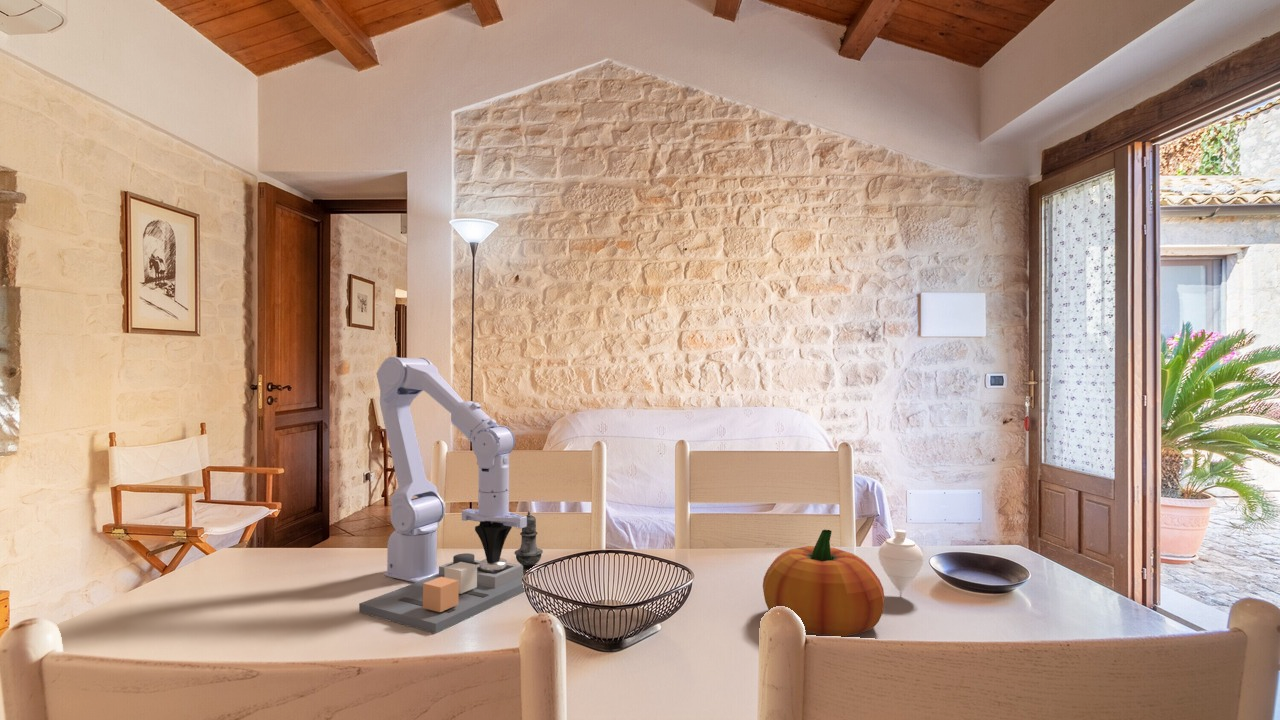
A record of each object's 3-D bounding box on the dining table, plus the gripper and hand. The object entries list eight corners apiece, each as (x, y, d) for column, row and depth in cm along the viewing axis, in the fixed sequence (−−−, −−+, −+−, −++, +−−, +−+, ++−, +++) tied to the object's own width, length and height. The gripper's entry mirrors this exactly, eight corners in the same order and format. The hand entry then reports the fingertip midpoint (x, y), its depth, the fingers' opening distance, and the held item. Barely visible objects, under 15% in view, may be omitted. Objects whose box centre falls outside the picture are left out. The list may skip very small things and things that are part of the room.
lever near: (422, 607, 104) (423, 583, 104) (441, 600, 108) (441, 576, 108) (440, 612, 102) (440, 587, 103) (458, 604, 106) (458, 580, 106)
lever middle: (444, 590, 113) (444, 567, 113) (460, 583, 116) (460, 561, 117) (460, 593, 111) (461, 570, 111) (476, 587, 115) (477, 564, 115)
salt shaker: (536, 574, 128) (537, 514, 128) (509, 572, 129) (510, 513, 130) (546, 565, 134) (547, 508, 134) (520, 563, 135) (521, 507, 135)
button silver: (474, 571, 120) (474, 563, 120) (492, 564, 124) (492, 556, 124) (494, 575, 117) (494, 566, 117) (511, 567, 122) (512, 560, 122)
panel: (359, 612, 107) (359, 591, 107) (468, 570, 130) (468, 553, 130) (435, 633, 99) (436, 610, 99) (538, 584, 122) (538, 566, 122)
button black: (448, 564, 123) (448, 557, 123) (463, 559, 127) (463, 552, 127) (464, 567, 121) (464, 560, 121) (478, 562, 125) (478, 555, 125)
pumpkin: (738, 613, 107) (738, 525, 108) (821, 594, 117) (820, 513, 117) (823, 658, 91) (823, 553, 91) (911, 631, 100) (910, 536, 100)
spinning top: (924, 592, 118) (923, 528, 118) (923, 606, 111) (923, 537, 111) (880, 586, 121) (879, 523, 121) (877, 599, 114) (876, 532, 114)
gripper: (450, 490, 121) (449, 561, 121) (509, 497, 114) (509, 573, 114) (476, 484, 127) (475, 552, 127) (533, 491, 120) (533, 562, 120)
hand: (493, 561), depth 121 cm, fingers closed, pressing on button silver
